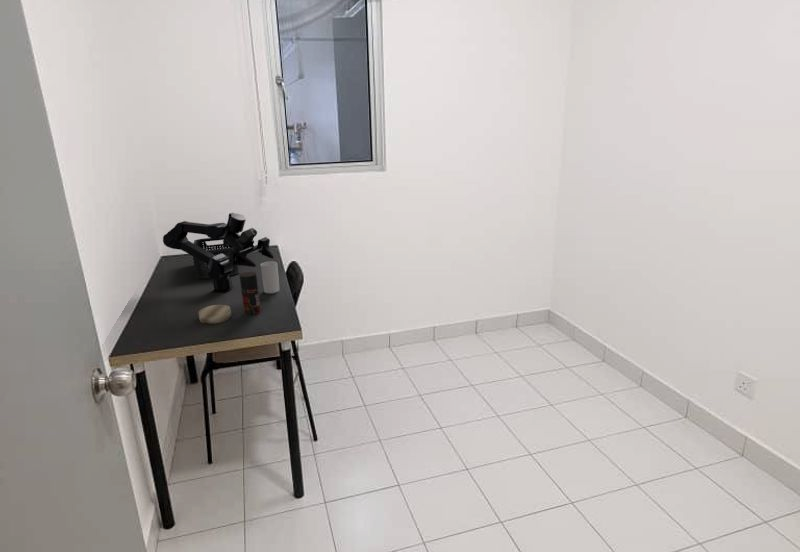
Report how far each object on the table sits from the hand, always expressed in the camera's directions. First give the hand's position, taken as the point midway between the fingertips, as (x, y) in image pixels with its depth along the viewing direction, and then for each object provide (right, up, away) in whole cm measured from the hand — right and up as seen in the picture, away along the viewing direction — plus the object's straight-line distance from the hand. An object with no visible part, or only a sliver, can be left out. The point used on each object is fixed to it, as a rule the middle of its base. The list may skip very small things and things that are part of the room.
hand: (264, 261), depth 194 cm
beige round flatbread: (-14, -21, -13) cm, 29 cm away
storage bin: (-35, -3, +46) cm, 58 cm away
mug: (-1, -12, +15) cm, 19 cm away
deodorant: (-2, -19, -9) cm, 22 cm away
